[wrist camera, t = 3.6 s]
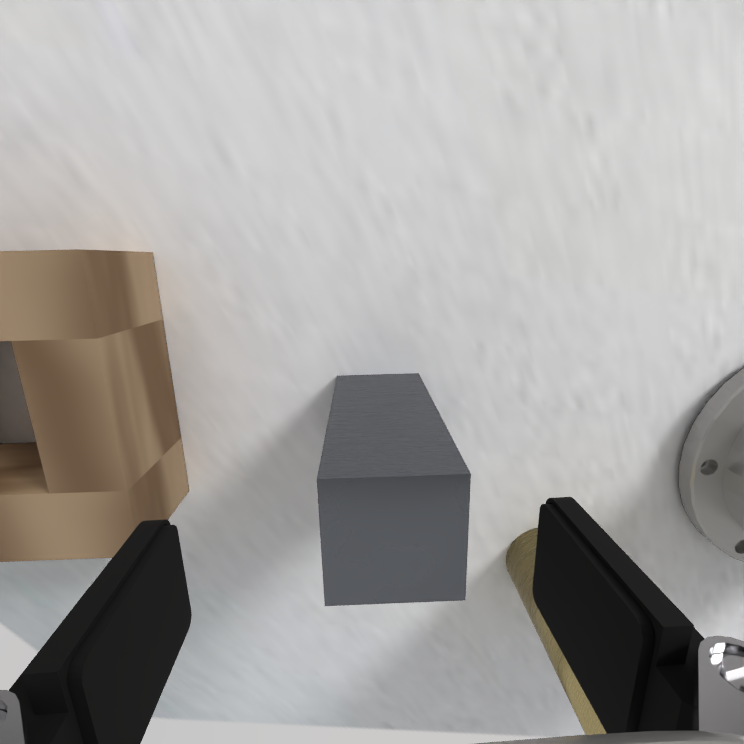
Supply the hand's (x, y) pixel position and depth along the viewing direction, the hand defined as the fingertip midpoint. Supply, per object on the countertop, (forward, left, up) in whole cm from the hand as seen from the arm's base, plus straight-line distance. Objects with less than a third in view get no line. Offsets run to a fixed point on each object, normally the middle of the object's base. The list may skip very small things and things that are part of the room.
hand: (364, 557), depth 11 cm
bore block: (+15, -2, -11) cm, 19 cm away
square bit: (-1, 0, -11) cm, 11 cm away
